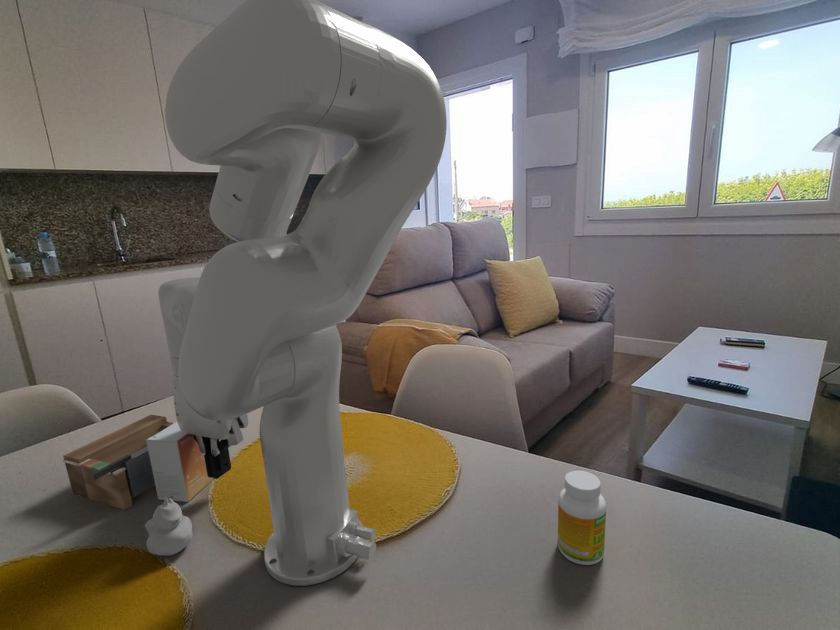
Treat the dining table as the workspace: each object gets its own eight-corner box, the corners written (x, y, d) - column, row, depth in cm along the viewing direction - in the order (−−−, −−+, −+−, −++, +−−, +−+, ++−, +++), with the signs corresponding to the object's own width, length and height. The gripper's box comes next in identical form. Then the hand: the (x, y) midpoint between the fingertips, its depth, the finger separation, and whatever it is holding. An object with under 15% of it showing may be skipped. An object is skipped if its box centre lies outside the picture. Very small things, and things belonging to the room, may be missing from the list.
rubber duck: (173, 568, 54) (161, 512, 52) (134, 558, 56) (121, 504, 54) (206, 538, 59) (196, 486, 57) (169, 529, 61) (159, 479, 59)
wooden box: (205, 457, 80) (199, 422, 78) (123, 510, 66) (113, 469, 64) (158, 447, 84) (151, 414, 83) (71, 495, 70) (61, 456, 69)
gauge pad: (197, 457, 78) (191, 424, 77) (104, 515, 63) (94, 476, 62) (186, 454, 79) (180, 422, 78) (92, 511, 64) (82, 472, 63)
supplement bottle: (599, 573, 50) (602, 499, 48) (552, 556, 53) (553, 485, 50) (607, 543, 54) (610, 474, 52) (563, 528, 57) (565, 462, 55)
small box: (188, 503, 67) (176, 441, 64) (157, 500, 68) (144, 439, 65) (221, 473, 74) (211, 417, 72) (193, 471, 75) (182, 415, 73)
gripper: (259, 358, 64) (274, 468, 68) (185, 351, 70) (204, 453, 74) (219, 376, 57) (239, 497, 61) (141, 366, 63) (164, 478, 67)
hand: (219, 473), depth 68 cm, fingers closed
